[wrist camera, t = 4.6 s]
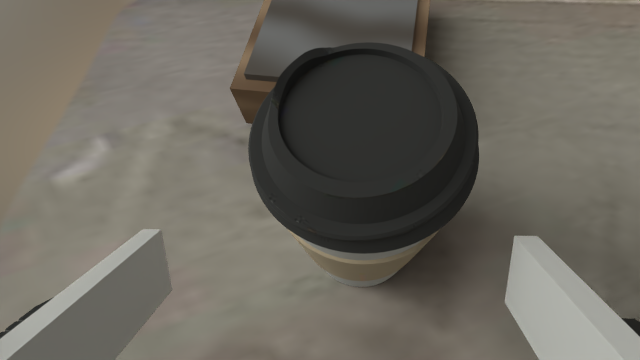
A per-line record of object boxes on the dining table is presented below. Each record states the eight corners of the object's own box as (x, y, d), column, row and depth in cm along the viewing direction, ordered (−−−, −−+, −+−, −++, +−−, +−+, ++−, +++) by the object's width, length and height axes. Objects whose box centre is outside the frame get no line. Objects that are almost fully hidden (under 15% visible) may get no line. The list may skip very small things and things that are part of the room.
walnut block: (284, 11, 37) (274, -37, 33) (424, 18, 35) (433, -32, 30) (246, 122, 31) (227, 83, 27) (411, 140, 29) (420, 100, 24)
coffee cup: (452, 229, 25) (554, 80, 12) (373, 335, 23) (389, 297, 9) (351, 159, 29) (342, -17, 15) (272, 246, 26) (178, 124, 13)
